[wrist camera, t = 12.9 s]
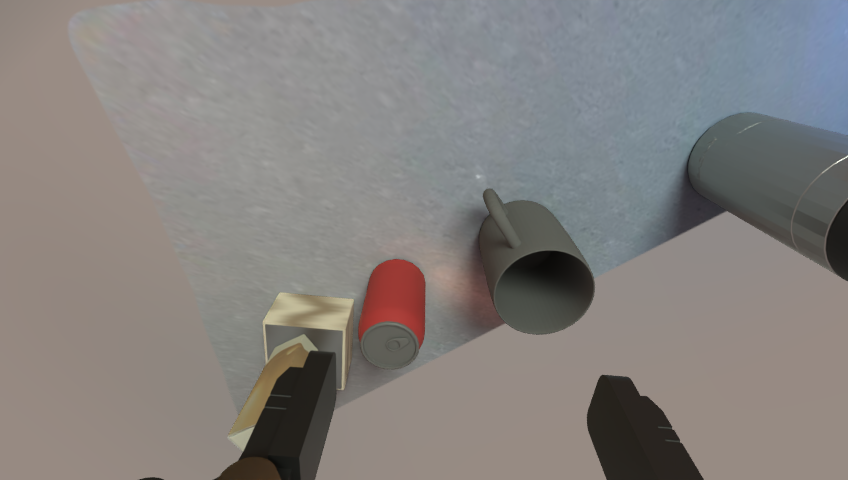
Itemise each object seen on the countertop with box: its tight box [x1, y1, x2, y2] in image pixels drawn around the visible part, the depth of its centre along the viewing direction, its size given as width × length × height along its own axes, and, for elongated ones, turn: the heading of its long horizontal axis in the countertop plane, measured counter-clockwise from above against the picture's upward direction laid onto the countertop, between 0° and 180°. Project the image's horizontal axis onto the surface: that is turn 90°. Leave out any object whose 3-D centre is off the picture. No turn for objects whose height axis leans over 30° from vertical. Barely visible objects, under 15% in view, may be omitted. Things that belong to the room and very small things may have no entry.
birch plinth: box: [263, 293, 354, 390], centre depth 51 cm, size 9×9×6 cm
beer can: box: [358, 259, 425, 369], centre depth 46 cm, size 7×7×12 cm
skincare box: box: [228, 334, 318, 452], centre depth 43 cm, size 6×4×12 cm
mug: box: [479, 189, 595, 335], centre depth 42 cm, size 14×9×12 cm
